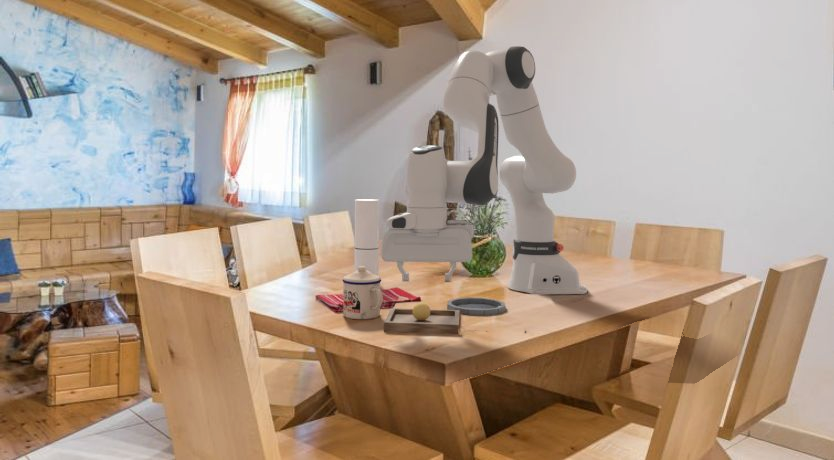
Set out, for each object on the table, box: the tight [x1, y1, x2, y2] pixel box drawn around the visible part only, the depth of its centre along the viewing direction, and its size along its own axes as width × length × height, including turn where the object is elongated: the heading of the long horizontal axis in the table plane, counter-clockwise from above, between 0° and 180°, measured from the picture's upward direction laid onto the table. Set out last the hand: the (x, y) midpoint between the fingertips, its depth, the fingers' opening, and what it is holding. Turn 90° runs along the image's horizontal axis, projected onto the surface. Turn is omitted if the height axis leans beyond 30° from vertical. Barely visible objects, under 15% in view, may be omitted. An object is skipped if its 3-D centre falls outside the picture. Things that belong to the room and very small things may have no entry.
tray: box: [383, 307, 460, 335], centre depth 147 cm, size 16×14×2 cm
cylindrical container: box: [353, 198, 380, 276], centre depth 193 cm, size 7×7×25 cm
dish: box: [446, 296, 507, 316], centre depth 160 cm, size 14×14×2 cm
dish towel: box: [315, 286, 422, 313], centre depth 170 cm, size 17×24×3 cm
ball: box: [412, 302, 431, 321], centre depth 146 cm, size 4×4×4 cm
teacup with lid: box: [342, 266, 383, 320], centre depth 153 cm, size 12×9×12 cm
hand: (426, 281), depth 146 cm, fingers open, 8 cm apart
